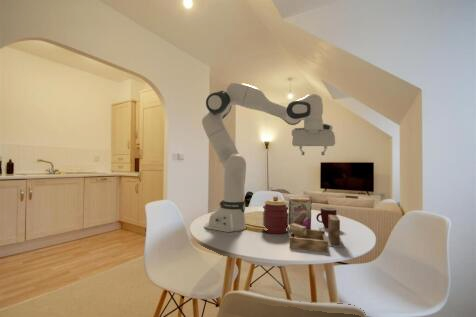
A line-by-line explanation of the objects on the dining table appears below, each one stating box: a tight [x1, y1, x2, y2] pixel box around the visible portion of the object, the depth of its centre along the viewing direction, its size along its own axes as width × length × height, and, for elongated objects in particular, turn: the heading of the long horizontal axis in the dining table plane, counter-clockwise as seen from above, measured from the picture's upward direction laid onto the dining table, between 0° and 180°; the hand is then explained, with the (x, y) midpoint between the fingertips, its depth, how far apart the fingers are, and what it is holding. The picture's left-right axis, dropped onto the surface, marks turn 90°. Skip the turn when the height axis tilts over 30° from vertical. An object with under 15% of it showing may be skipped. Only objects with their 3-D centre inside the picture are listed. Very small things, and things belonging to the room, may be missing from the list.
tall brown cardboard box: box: [327, 214, 341, 245], centre depth 101 cm, size 4×10×10 cm, turn 164°
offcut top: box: [289, 223, 306, 236], centre depth 100 cm, size 3×7×4 cm, turn 32°
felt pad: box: [325, 235, 346, 249], centre depth 100 cm, size 7×13×1 cm, turn 164°
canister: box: [262, 195, 289, 235], centre depth 117 cm, size 13×13×18 cm
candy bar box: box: [288, 197, 312, 230], centre depth 118 cm, size 11×5×16 cm, turn 84°
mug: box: [315, 207, 338, 229], centre depth 124 cm, size 10×8×10 cm
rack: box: [289, 229, 329, 253], centre depth 98 cm, size 15×15×4 cm
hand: (312, 155), depth 112 cm, fingers open, 8 cm apart
